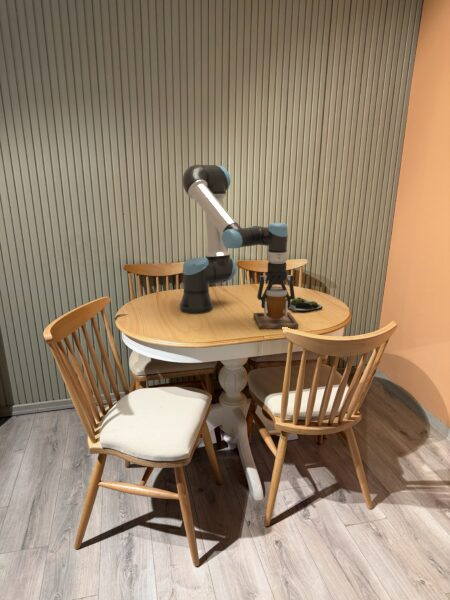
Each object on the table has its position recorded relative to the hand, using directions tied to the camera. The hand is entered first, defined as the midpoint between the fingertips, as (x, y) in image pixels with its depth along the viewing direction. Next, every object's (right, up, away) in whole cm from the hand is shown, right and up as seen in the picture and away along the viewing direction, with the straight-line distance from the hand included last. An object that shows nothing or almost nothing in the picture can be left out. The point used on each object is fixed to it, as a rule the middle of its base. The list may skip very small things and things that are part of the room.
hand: (275, 315), depth 175 cm
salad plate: (+15, +2, +22) cm, 27 cm away
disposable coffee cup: (0, -1, 0) cm, 1 cm away
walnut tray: (0, -3, +1) cm, 3 cm away
